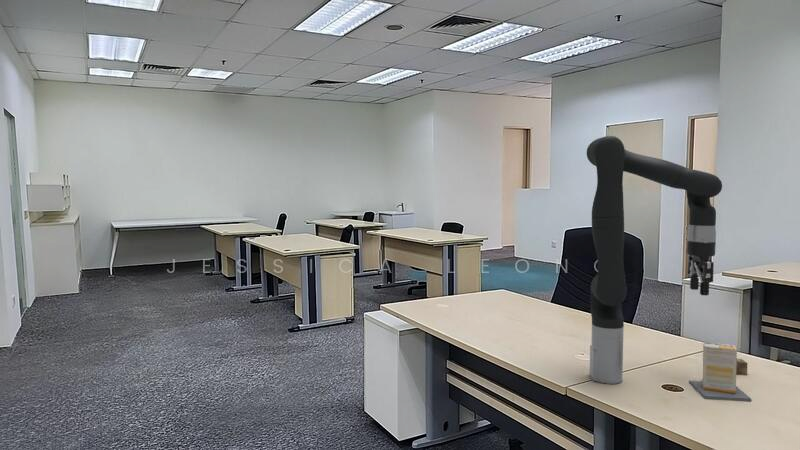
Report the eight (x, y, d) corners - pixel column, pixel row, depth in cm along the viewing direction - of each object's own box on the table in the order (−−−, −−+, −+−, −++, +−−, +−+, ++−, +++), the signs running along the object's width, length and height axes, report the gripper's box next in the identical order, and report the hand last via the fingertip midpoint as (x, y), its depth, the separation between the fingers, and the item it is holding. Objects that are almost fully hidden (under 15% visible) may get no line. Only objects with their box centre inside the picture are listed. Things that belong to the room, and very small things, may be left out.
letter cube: (733, 374, 167) (733, 361, 166) (727, 370, 171) (728, 357, 170) (746, 375, 166) (747, 362, 166) (741, 370, 170) (741, 357, 170)
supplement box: (734, 388, 153) (736, 344, 152) (735, 394, 149) (737, 349, 148) (701, 383, 157) (703, 341, 156) (702, 389, 153) (703, 345, 152)
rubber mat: (704, 398, 148) (704, 396, 148) (689, 383, 160) (689, 380, 160) (751, 401, 146) (751, 398, 146) (731, 385, 158) (732, 382, 158)
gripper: (680, 237, 167) (678, 287, 168) (696, 242, 153) (694, 296, 155) (706, 237, 166) (703, 288, 167) (724, 242, 152) (721, 297, 153)
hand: (699, 292), depth 161 cm, fingers open, 8 cm apart
